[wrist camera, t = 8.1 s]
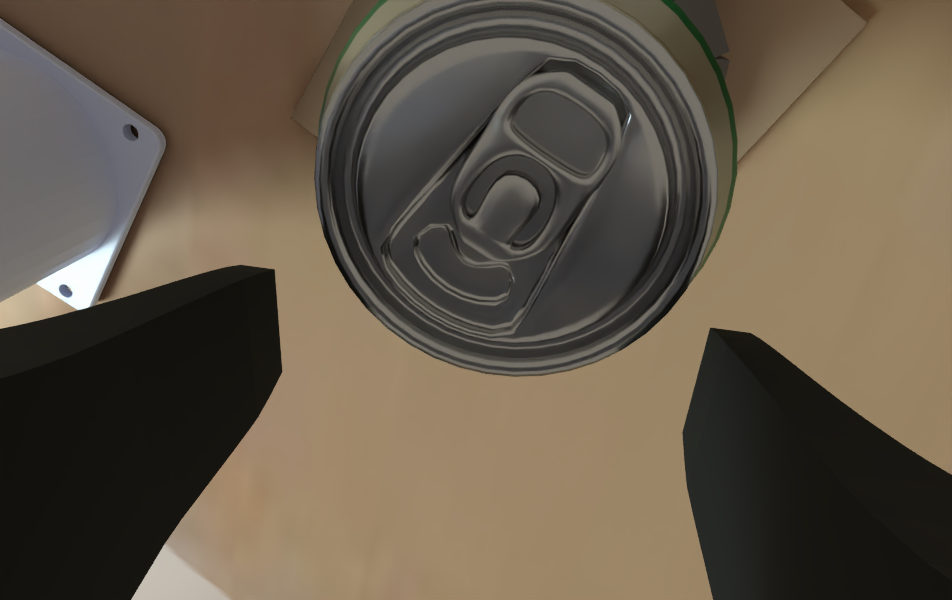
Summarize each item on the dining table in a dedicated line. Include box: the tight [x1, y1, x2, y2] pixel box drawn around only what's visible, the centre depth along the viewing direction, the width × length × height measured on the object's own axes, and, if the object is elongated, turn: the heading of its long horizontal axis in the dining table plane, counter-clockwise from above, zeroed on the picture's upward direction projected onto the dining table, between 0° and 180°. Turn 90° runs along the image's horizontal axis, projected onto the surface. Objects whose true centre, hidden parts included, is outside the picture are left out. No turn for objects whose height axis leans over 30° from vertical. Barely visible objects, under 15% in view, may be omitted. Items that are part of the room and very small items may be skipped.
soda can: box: [314, 0, 738, 377], centre depth 12 cm, size 5×5×12 cm
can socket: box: [291, 0, 867, 162], centre depth 17 cm, size 11×11×2 cm
